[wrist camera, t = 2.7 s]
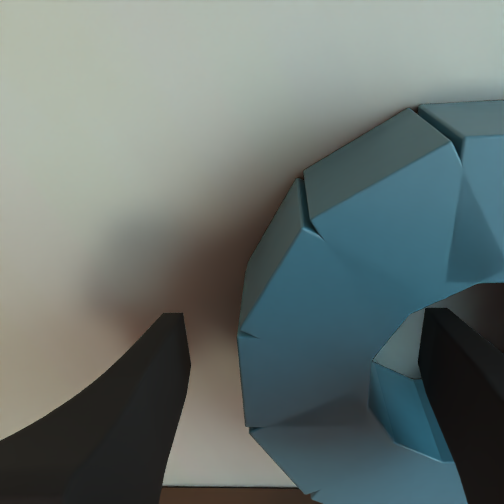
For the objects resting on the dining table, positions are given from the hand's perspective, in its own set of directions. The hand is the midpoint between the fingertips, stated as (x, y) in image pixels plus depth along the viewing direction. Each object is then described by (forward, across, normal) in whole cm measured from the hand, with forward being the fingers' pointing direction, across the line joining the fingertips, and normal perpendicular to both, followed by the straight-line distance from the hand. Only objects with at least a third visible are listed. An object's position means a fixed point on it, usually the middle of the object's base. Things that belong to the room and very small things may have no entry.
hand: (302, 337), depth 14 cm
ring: (+1, -5, 0) cm, 5 cm away
